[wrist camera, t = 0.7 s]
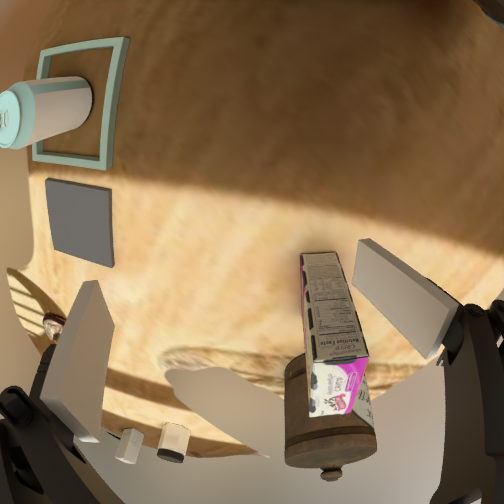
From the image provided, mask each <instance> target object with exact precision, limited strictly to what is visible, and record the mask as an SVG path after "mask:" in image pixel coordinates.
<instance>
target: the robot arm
mask: <svg viewBox="0 0 504 504" xmlns="http://www.w3.org/2000/svg"><path fill="white" fill-rule="evenodd" d="M473 1H474V2H475V3H476V4H478V5H479V6H480V8H481V9H482V10H483V11H484V12H485V14H486V15H487V16H488V17H489V18H490V19H491V20H492V21H493V22H495V23H496V24H498V25H499V26H500V27H501V28H502V29H503V30H504V0H473ZM352 285H354V286H355V287H356V288H357V289H358V290H359V291H360V292H361V293H362V294H363V295H364V296H365V297H366V298H367V299H368V300H369V301H370V302H371V303H372V304H373V305H374V306H375V307H376V308H377V309H378V310H379V311H380V312H381V313H382V314H383V315H384V316H385V317H386V318H387V319H388V320H389V321H390V322H391V324H392V325H393V326H394V327H395V328H396V329H397V330H398V331H399V332H400V333H401V334H402V335H403V336H404V337H405V338H406V339H407V340H408V341H409V342H410V343H411V344H412V345H413V347H414V348H415V349H416V350H417V351H418V352H419V353H420V354H421V355H422V356H423V357H424V358H425V359H428V358H429V357H431V356H433V355H434V354H436V353H437V351H438V349H439V347H440V345H441V343H442V344H443V345H444V346H445V348H444V350H443V352H442V354H441V355H440V357H439V359H438V361H437V364H436V365H437V366H438V365H439V363H440V362H441V360H443V363H442V365H441V366H444V376H445V397H446V398H445V400H446V421H445V443H444V456H443V466H442V473H441V481H440V485H439V487H438V489H437V491H436V492H435V493H434V494H433V496H432V498H431V500H430V504H470V503H472V502H474V501H476V500H478V499H480V498H482V499H481V504H504V340H503V342H502V343H501V345H500V347H499V348H498V347H497V344H496V343H497V341H498V339H499V338H500V336H501V335H502V337H503V339H504V301H502V300H494V301H493V302H492V304H491V307H490V309H488V310H483V309H482V308H481V307H480V306H478V305H475V304H466V305H465V306H463V305H462V304H461V303H460V302H458V301H457V300H456V299H455V298H453V297H452V296H451V295H450V294H448V293H447V292H446V291H443V289H442V288H441V287H439V286H437V284H435V283H434V282H433V281H431V280H430V279H428V278H426V277H424V276H422V275H421V274H420V273H418V272H417V271H416V270H414V269H413V268H411V267H410V266H409V265H407V264H406V263H404V262H403V261H402V260H400V259H399V258H397V257H396V256H395V255H393V254H392V253H390V252H389V251H387V250H386V249H385V248H383V247H382V246H380V245H379V244H377V243H376V242H374V241H373V240H371V239H370V238H368V239H361V240H358V247H357V254H356V261H355V267H354V273H353V279H352ZM114 327H115V325H114V323H113V320H112V318H111V315H110V313H109V310H108V308H107V305H106V302H105V300H104V297H103V294H102V291H101V288H100V285H99V282H98V280H92V281H85V282H83V284H82V286H81V288H80V290H79V292H78V295H77V297H76V299H75V301H74V303H73V306H72V308H71V310H70V313H69V315H68V317H67V320H66V322H65V325H64V327H63V330H62V332H61V335H60V337H59V340H58V342H57V344H50V346H49V347H48V348H47V349H46V351H45V352H44V353H43V356H42V358H41V361H40V365H39V367H38V370H37V373H36V375H35V378H34V381H33V385H32V388H31V391H30V395H29V397H28V396H27V394H26V393H25V392H24V391H23V389H22V388H20V387H18V386H10V387H8V388H6V389H5V390H4V391H3V392H2V393H1V394H0V414H1V415H2V416H4V418H5V419H0V504H125V503H124V502H123V501H122V500H121V499H120V498H119V497H118V496H117V495H116V494H115V493H114V492H113V491H112V490H111V489H110V487H109V486H108V485H107V484H106V483H105V482H104V480H103V479H102V478H101V477H100V476H99V474H98V473H97V472H96V471H95V469H94V468H93V467H92V466H91V464H90V463H89V462H88V460H87V459H86V458H85V456H84V455H83V454H82V452H81V451H80V450H79V448H78V447H77V446H76V445H75V444H74V443H73V437H74V434H75V435H76V436H77V437H78V438H79V439H80V440H81V441H84V442H100V427H101V414H102V404H103V395H104V387H105V379H106V372H107V366H108V359H109V354H110V348H111V342H112V337H113V332H114Z"/></svg>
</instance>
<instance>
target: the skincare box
mask: <svg viewBox="0 0 504 504" xmlns="http://www.w3.org/2000/svg"><path fill="white" fill-rule="evenodd" d="M143 438H144V434H143V433H141V432H139V431H138V430H136V429H134V428H130V429H124V431H123V434H122V437H121V440H120V443H119V446H118V449H117V452H116V455H115V458H117V459H119V460H121V461H123V462H125V463H131V464H135V463H136V460H137V457H138V454H139V450H140V447H141V444H142V441H143Z"/></svg>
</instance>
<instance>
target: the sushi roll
mask: <svg viewBox="0 0 504 504" xmlns="http://www.w3.org/2000/svg"><path fill="white" fill-rule="evenodd" d="M46 313H47V312H46ZM56 314H57V313H56ZM65 322H66V320H65V319H63V317H60V316H58V315H57V316H56V315H51V314H50V313H49V311H48V315H47V316H45V317H44V318H43V325H44V326H43V327H45V328H46V329H45V332H46V333H48V334H47V335H48V336H49V338H50V339H51V341H52V340H53V341H54V342H55V344H57V342H58V340H59V337H60V335H61V332H62V330H63V327H64V325H65Z"/></svg>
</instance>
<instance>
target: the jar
mask: <svg viewBox="0 0 504 504" xmlns="http://www.w3.org/2000/svg"><path fill="white" fill-rule="evenodd" d="M190 432H191V431H190V430H188V429H187V428H185V427H183V426H182V425H177V424H172V423H167V424H165V425H164V427H163V430H162V434H161V438H160V442H159V445H158V453H157V456H158V457H160V458H161V459H164V460H167V461H170V462H175V463H183V459H184V456H185V455H186V450H187V446H188V441H189V436H190Z"/></svg>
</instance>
